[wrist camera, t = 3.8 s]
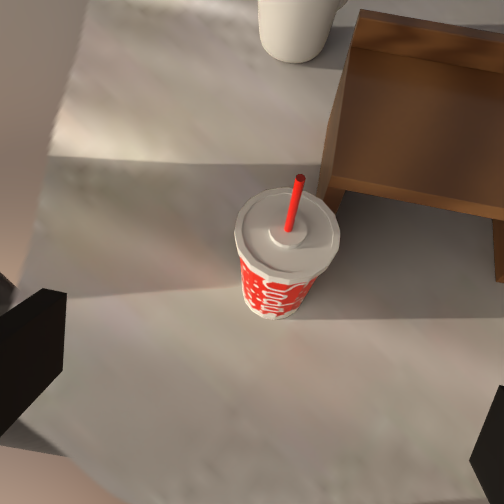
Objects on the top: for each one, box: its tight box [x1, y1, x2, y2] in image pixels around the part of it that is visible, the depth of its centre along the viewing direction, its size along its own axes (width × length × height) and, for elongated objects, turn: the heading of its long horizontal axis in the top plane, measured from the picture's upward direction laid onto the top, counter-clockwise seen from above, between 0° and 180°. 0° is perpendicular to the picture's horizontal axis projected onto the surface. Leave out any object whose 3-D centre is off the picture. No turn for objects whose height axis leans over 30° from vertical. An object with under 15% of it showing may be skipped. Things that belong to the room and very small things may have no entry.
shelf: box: [316, 9, 504, 283], centre depth 33 cm, size 16×13×11 cm
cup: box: [258, 0, 347, 63], centre depth 43 cm, size 11×8×8 cm
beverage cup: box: [234, 174, 340, 320], centre depth 28 cm, size 6×6×14 cm
